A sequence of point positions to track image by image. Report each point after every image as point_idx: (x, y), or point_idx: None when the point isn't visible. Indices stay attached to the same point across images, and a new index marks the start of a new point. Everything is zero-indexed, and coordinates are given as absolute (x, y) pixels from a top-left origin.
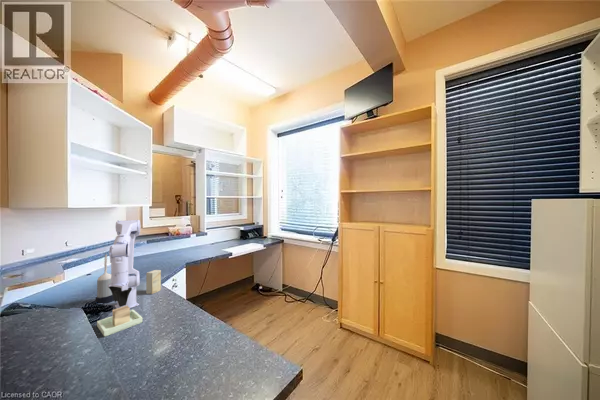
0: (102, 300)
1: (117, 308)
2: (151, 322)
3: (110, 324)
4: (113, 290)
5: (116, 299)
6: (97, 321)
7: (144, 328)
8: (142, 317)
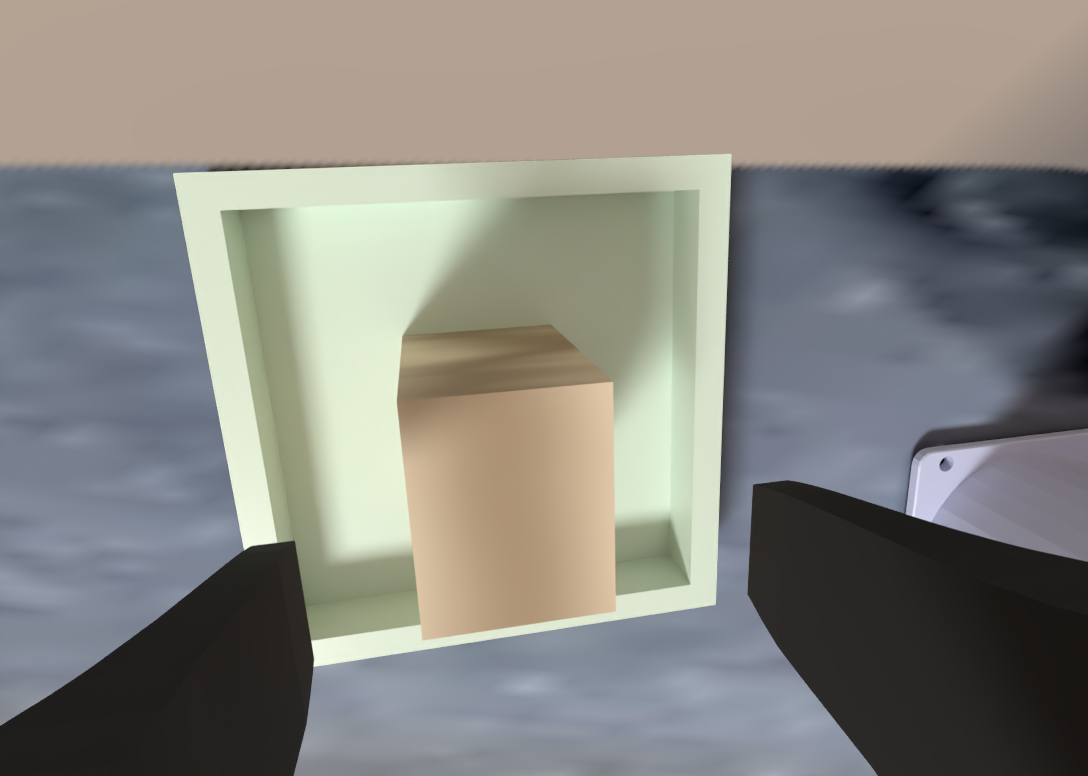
0: None
1: (611, 463)
2: None
3: (556, 301)
4: (1059, 677)
5: (778, 541)
6: (711, 155)
7: (50, 621)
8: None
